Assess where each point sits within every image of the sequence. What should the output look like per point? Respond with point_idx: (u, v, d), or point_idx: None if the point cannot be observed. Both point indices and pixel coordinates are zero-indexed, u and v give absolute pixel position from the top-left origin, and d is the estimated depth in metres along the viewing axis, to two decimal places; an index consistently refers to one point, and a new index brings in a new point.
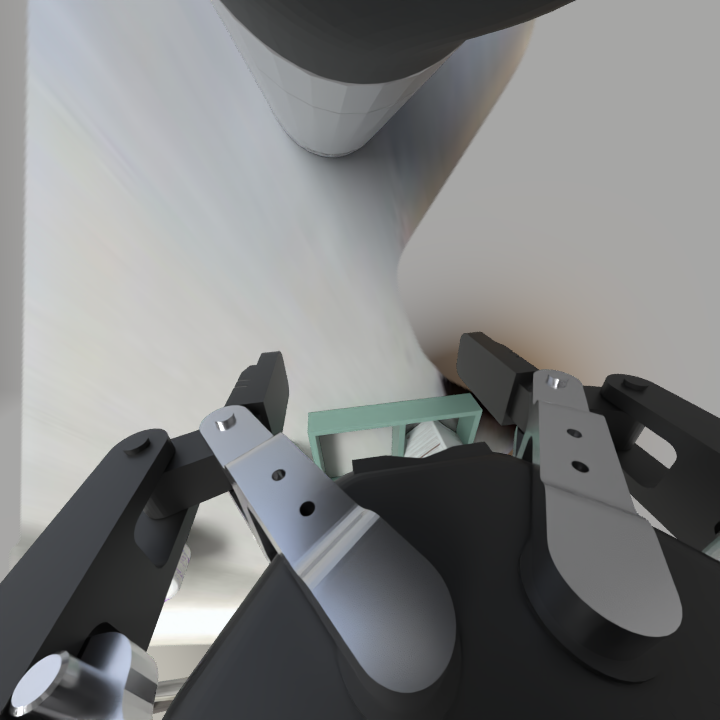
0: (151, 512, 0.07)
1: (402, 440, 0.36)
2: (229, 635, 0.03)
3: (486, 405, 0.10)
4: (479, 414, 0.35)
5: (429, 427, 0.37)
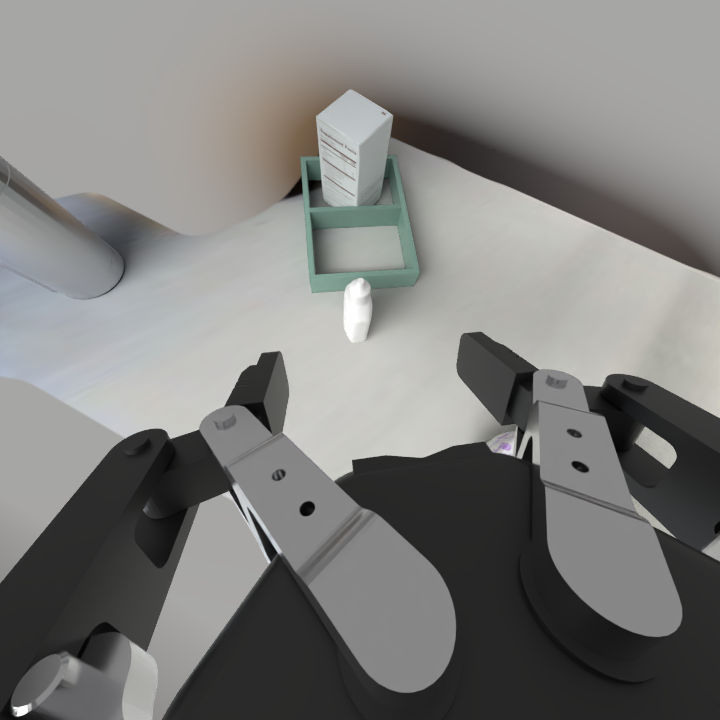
0: (151, 512, 0.07)
1: (329, 208, 0.41)
2: (229, 635, 0.03)
3: (486, 405, 0.10)
4: (304, 158, 0.43)
5: (326, 194, 0.43)
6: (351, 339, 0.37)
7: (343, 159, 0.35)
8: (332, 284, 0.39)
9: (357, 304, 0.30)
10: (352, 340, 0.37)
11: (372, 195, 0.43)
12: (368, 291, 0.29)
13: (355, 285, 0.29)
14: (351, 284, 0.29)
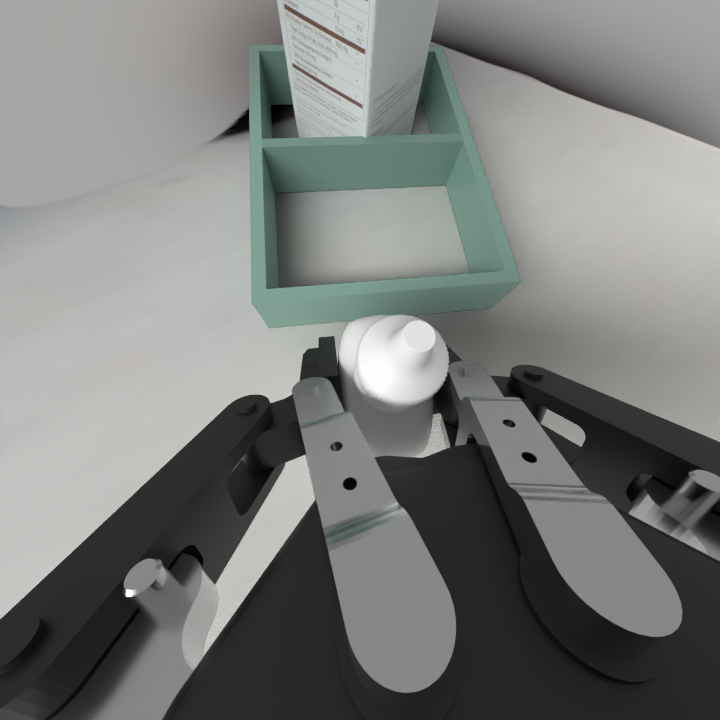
0: (246, 464, 0.08)
1: (307, 140, 0.18)
2: (229, 635, 0.03)
3: None
4: (257, 47, 0.21)
5: (303, 120, 0.21)
6: None
7: None
8: (312, 310, 0.16)
9: (387, 410, 0.08)
10: None
11: (398, 119, 0.20)
12: (442, 373, 0.07)
13: (387, 352, 0.06)
14: (367, 342, 0.07)
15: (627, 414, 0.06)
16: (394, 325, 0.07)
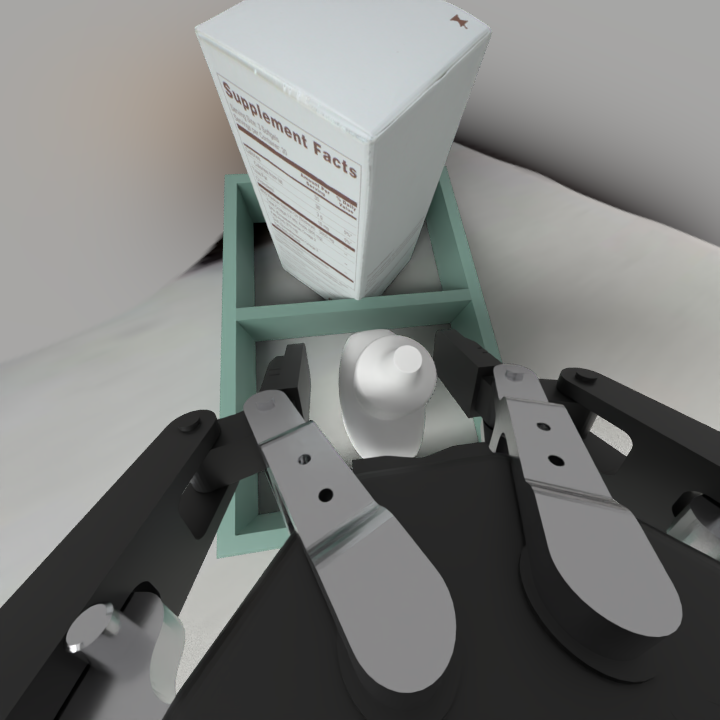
0: (196, 485, 0.07)
1: (289, 308, 0.16)
2: (229, 635, 0.03)
3: (456, 399, 0.11)
4: (234, 178, 0.18)
5: (287, 262, 0.18)
6: None
7: (312, 191, 0.11)
8: None
9: (382, 418, 0.09)
10: None
11: (396, 264, 0.18)
12: (430, 388, 0.07)
13: (381, 370, 0.07)
14: (364, 360, 0.08)
15: (687, 428, 0.06)
16: (388, 345, 0.08)
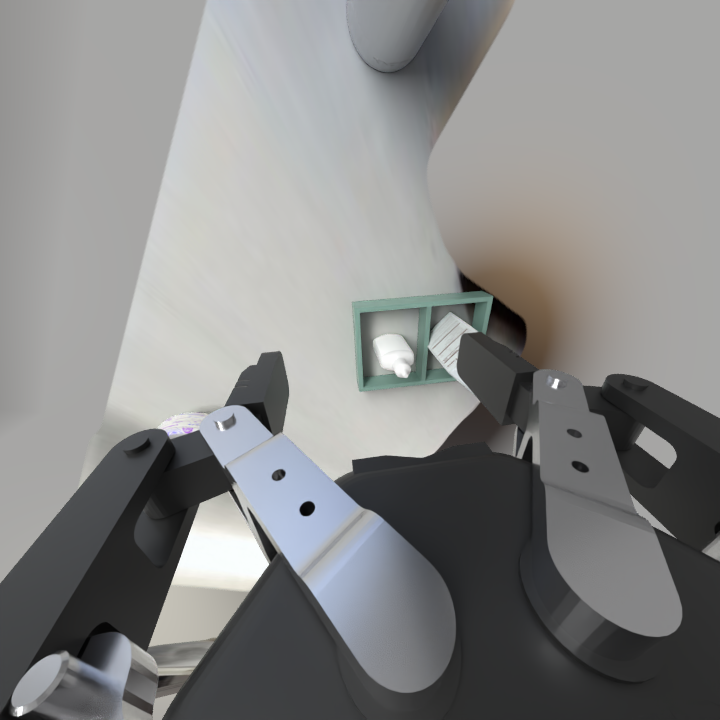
0: (151, 512, 0.07)
1: (428, 324, 0.44)
2: (229, 635, 0.03)
3: (486, 405, 0.10)
4: (490, 300, 0.43)
5: (449, 318, 0.46)
6: (375, 341, 0.47)
7: (453, 351, 0.40)
8: (354, 323, 0.44)
9: (392, 364, 0.41)
10: (374, 341, 0.47)
11: None
12: (399, 376, 0.40)
13: (404, 369, 0.39)
14: (406, 365, 0.39)
15: None
16: (408, 370, 0.39)
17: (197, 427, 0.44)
